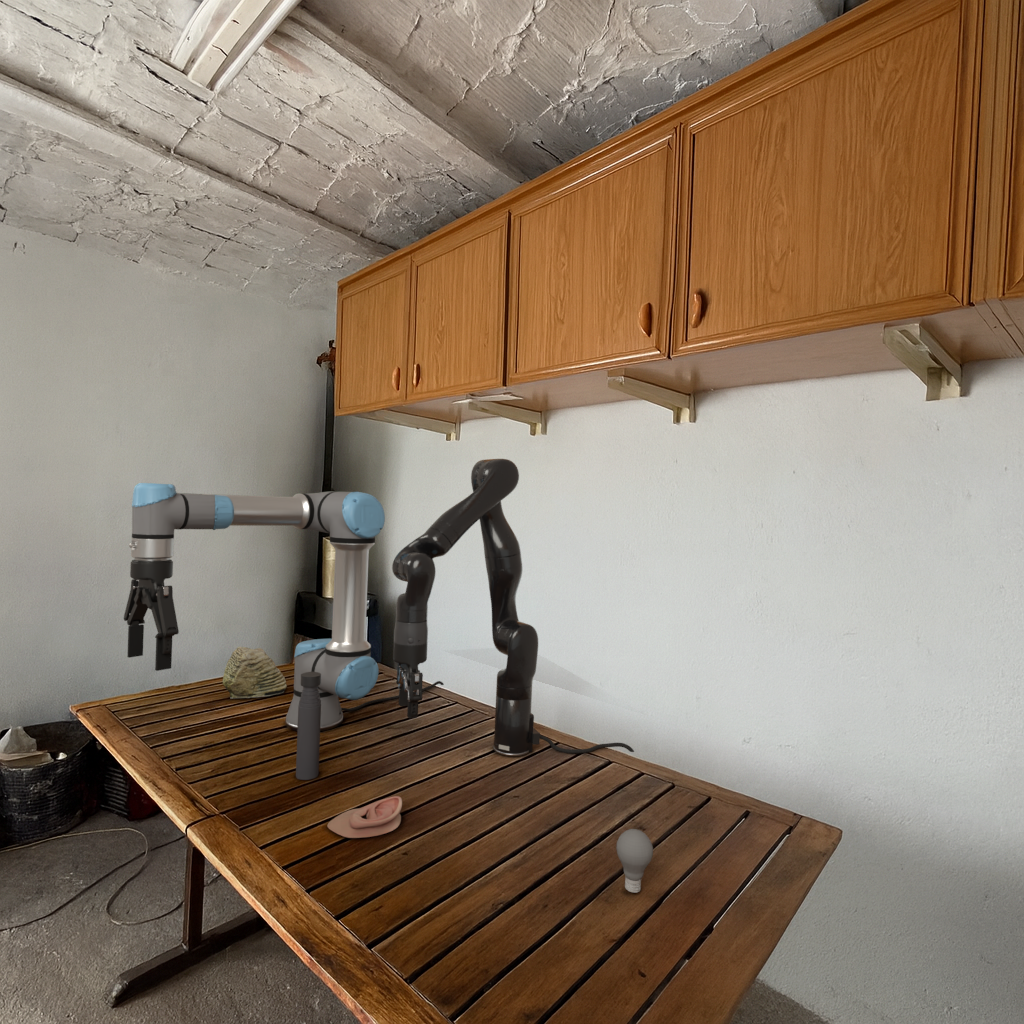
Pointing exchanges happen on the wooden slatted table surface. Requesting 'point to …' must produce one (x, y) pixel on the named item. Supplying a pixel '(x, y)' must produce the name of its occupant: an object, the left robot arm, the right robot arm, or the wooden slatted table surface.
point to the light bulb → (634, 857)
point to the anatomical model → (369, 819)
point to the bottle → (308, 734)
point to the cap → (310, 679)
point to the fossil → (252, 674)
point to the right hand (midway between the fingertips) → (407, 711)
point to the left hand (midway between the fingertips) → (148, 662)
